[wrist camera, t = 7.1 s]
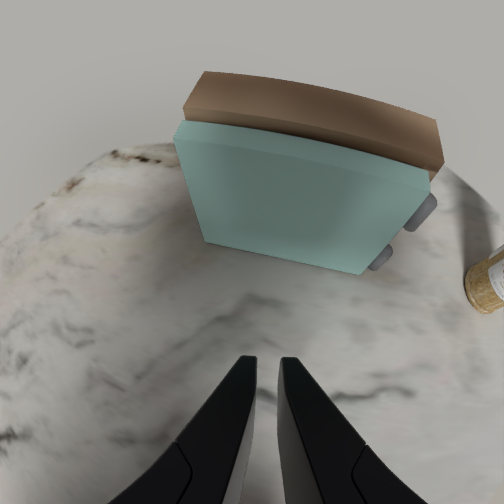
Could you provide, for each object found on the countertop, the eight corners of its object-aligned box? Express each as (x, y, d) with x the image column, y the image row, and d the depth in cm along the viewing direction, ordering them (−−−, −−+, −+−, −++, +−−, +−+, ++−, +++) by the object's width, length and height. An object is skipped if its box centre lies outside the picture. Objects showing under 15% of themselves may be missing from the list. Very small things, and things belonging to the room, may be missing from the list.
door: (373, 278, 22) (450, 198, 12) (205, 241, 23) (172, 138, 13) (375, 263, 22) (447, 178, 12) (209, 227, 23) (182, 119, 13)
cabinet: (368, 259, 22) (444, 162, 12) (211, 225, 24) (182, 107, 13) (371, 224, 24) (435, 119, 13) (221, 192, 25) (204, 71, 14)
